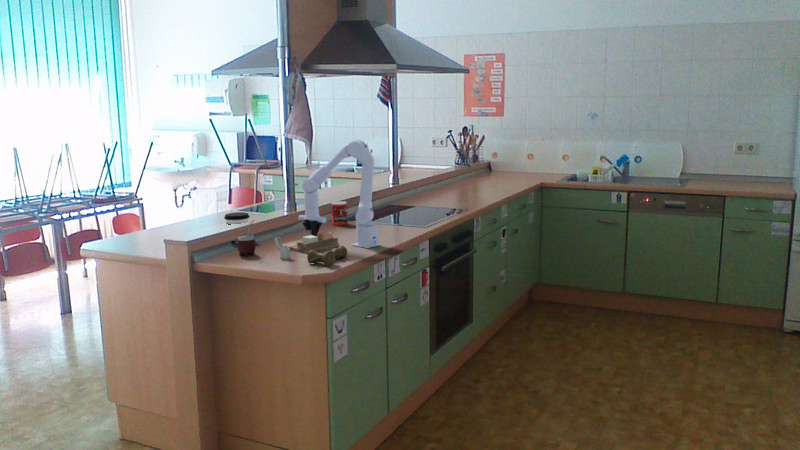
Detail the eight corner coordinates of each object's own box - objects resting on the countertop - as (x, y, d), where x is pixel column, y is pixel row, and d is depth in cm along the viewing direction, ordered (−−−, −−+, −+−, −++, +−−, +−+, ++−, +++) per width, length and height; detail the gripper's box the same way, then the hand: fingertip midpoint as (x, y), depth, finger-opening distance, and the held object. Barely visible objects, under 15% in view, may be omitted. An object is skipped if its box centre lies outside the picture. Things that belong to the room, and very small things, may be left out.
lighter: (290, 258, 270) (289, 238, 269) (287, 259, 269) (286, 239, 268) (278, 256, 275) (277, 236, 273) (274, 257, 273) (274, 237, 272)
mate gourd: (239, 253, 281) (237, 216, 278) (259, 252, 282) (257, 216, 279) (236, 257, 274) (234, 220, 271) (256, 256, 274) (254, 219, 272)
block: (318, 247, 284) (317, 236, 283) (309, 249, 281) (309, 238, 280) (311, 245, 287) (310, 235, 286) (302, 247, 284) (302, 236, 283)
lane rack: (338, 246, 291) (338, 237, 290) (306, 253, 279) (305, 244, 278) (310, 240, 304) (310, 232, 303) (278, 246, 292) (277, 238, 291)
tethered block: (333, 243, 290) (332, 231, 289) (324, 245, 286) (323, 233, 285) (316, 240, 297) (315, 228, 296) (307, 241, 294) (306, 230, 293)
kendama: (353, 260, 269) (320, 270, 252) (333, 258, 274) (300, 267, 257) (352, 245, 268) (320, 253, 251) (333, 243, 273) (299, 251, 256)
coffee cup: (240, 237, 313) (239, 211, 311) (256, 240, 306) (254, 213, 304) (220, 241, 305) (218, 214, 303) (235, 244, 298) (234, 217, 296)
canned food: (333, 226, 336) (332, 204, 334) (330, 223, 344) (330, 201, 342) (349, 225, 338) (348, 203, 336) (346, 222, 346) (345, 200, 344)
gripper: (330, 206, 291) (331, 238, 294) (306, 203, 300) (307, 234, 302) (318, 208, 286) (320, 241, 288) (294, 205, 294) (295, 237, 297)
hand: (312, 237), depth 295 cm, fingers closed on tethered block, 2 cm apart
